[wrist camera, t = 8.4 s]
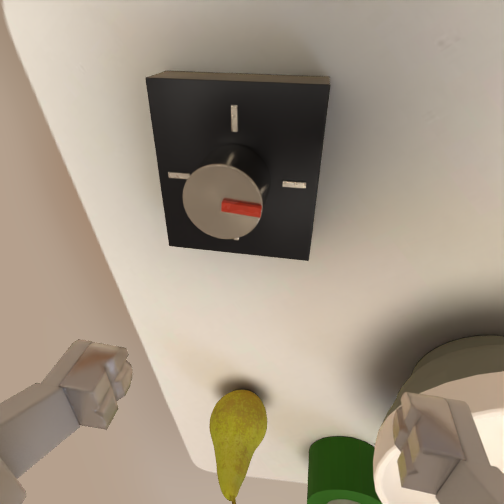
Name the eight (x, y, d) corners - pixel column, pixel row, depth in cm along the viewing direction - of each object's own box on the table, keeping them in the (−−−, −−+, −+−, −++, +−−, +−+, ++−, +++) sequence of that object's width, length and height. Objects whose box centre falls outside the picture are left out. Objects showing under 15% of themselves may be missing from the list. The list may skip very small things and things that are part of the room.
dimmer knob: (200, 206, 23) (181, 235, 20) (201, 138, 21) (179, 160, 17) (266, 216, 23) (257, 248, 20) (275, 149, 20) (266, 173, 17)
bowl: (361, 431, 39) (370, 536, 31) (363, 292, 28) (378, 396, 21) (572, 447, 34) (646, 575, 26) (665, 289, 24) (831, 421, 16)
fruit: (211, 395, 40) (173, 519, 30) (233, 369, 37) (199, 498, 27) (255, 416, 41) (232, 544, 31) (281, 392, 37) (264, 526, 27)
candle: (323, 428, 40) (323, 536, 31) (394, 450, 40) (411, 564, 31) (299, 461, 44) (293, 562, 36) (362, 481, 44) (371, 586, 36)
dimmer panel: (165, 70, 22) (143, 77, 19) (329, 76, 20) (330, 85, 18) (182, 226, 28) (168, 247, 25) (310, 238, 27) (308, 262, 24)
